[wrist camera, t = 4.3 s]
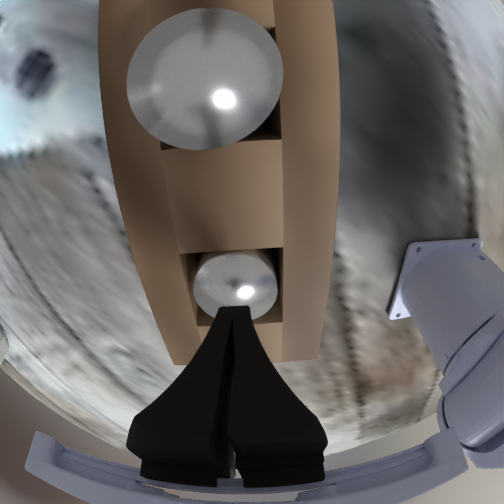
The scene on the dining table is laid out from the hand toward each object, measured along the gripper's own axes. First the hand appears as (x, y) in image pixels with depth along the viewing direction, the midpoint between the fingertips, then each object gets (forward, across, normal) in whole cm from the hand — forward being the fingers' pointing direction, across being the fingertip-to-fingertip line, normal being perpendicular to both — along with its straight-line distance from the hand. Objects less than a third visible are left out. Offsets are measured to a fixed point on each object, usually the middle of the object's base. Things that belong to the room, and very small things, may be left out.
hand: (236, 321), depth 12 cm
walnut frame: (+7, 0, -5) cm, 9 cm away
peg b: (+7, 0, 0) cm, 7 cm away
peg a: (+4, 0, -10) cm, 11 cm away
